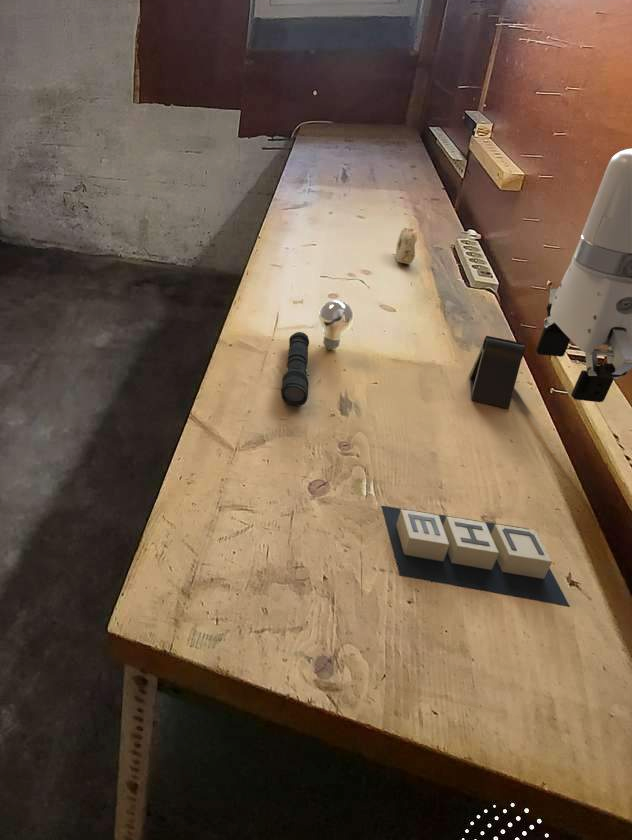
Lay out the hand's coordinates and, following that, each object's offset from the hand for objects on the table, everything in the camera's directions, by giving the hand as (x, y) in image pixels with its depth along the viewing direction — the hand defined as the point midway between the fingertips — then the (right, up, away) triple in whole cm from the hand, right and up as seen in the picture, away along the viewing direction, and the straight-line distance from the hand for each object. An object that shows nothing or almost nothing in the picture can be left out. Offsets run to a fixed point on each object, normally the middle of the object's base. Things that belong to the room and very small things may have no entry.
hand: (566, 375), depth 73 cm
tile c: (-3, -27, +5) cm, 27 cm away
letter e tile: (-15, -26, +8) cm, 31 cm away
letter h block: (-9, -26, +6) cm, 28 cm away
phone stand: (+16, -10, +38) cm, 42 cm away
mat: (-9, -26, +7) cm, 29 cm away
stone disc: (+29, +17, +91) cm, 97 cm away
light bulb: (-8, -4, +53) cm, 54 cm away
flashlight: (-19, -8, +44) cm, 49 cm away
